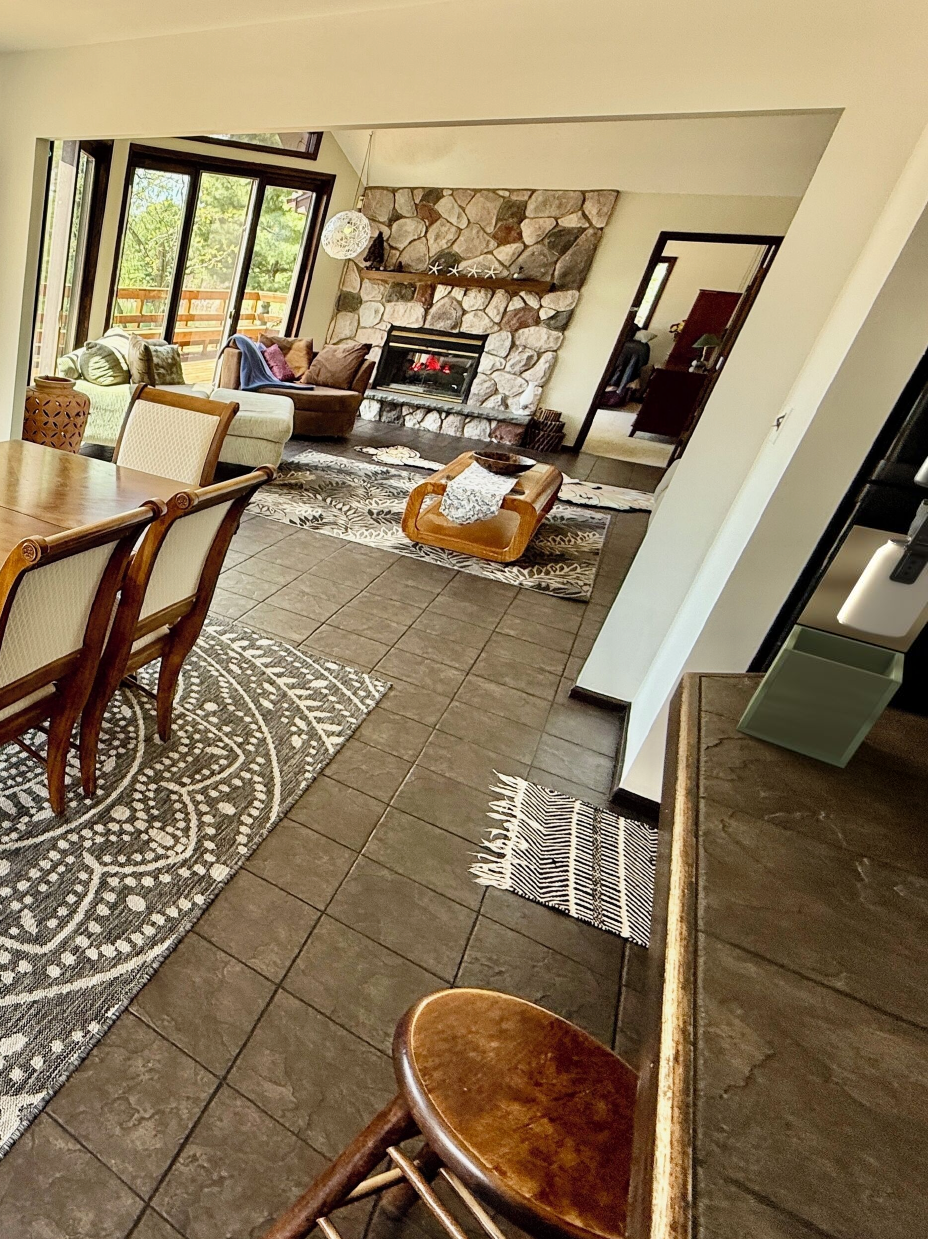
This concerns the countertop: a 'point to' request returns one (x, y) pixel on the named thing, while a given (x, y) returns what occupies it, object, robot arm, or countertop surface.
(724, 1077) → the countertop surface
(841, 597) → the lid
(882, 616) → the can
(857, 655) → the chest
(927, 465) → the robot arm
